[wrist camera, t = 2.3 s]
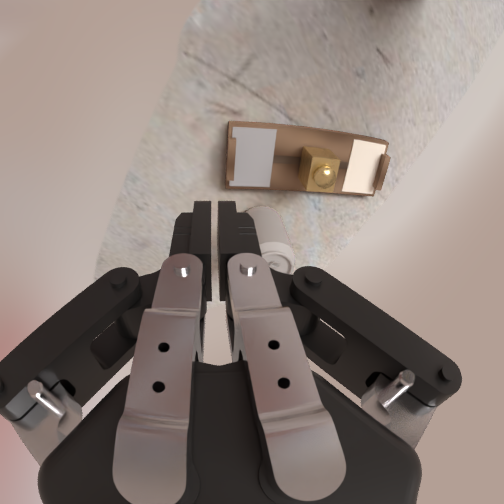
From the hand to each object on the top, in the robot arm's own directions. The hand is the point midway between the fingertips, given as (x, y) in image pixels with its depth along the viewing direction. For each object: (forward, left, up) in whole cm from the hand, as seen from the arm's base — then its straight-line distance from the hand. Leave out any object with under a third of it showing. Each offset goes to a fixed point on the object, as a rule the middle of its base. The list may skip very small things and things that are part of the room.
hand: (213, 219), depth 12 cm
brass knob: (+7, +15, -27) cm, 31 cm away
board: (+7, +15, -29) cm, 33 cm away
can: (+19, +8, -29) cm, 36 cm away
